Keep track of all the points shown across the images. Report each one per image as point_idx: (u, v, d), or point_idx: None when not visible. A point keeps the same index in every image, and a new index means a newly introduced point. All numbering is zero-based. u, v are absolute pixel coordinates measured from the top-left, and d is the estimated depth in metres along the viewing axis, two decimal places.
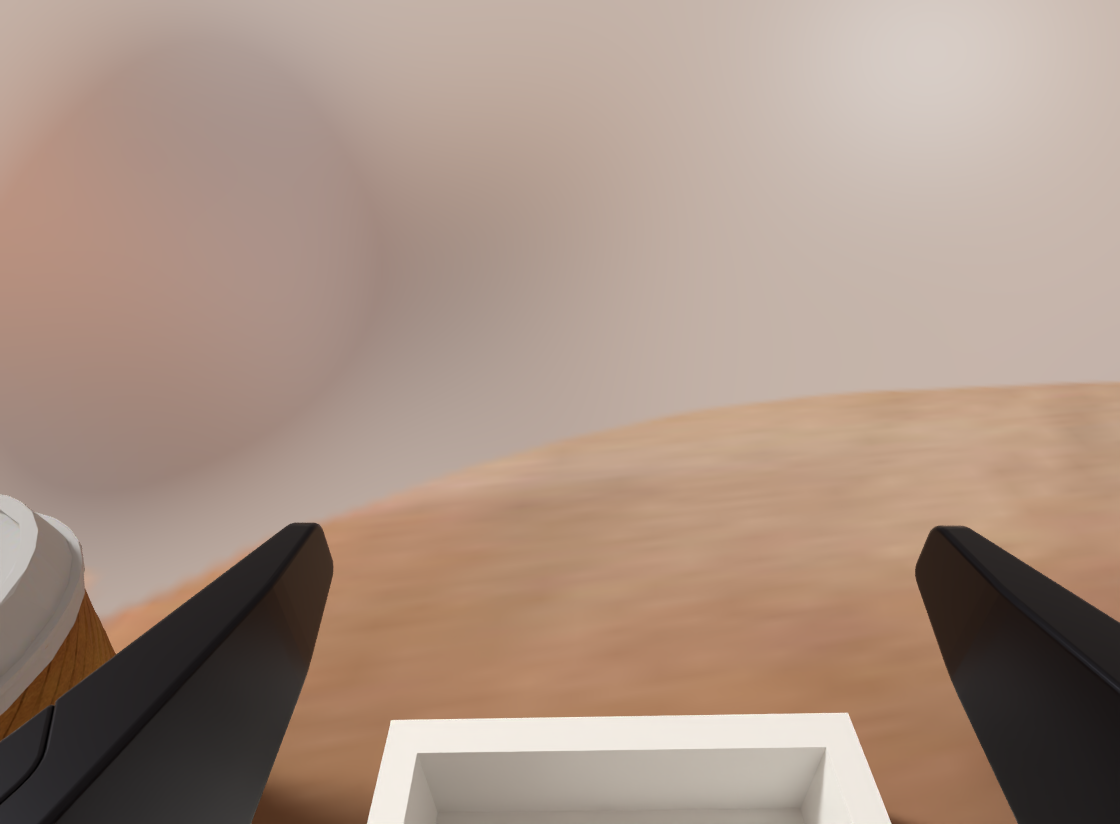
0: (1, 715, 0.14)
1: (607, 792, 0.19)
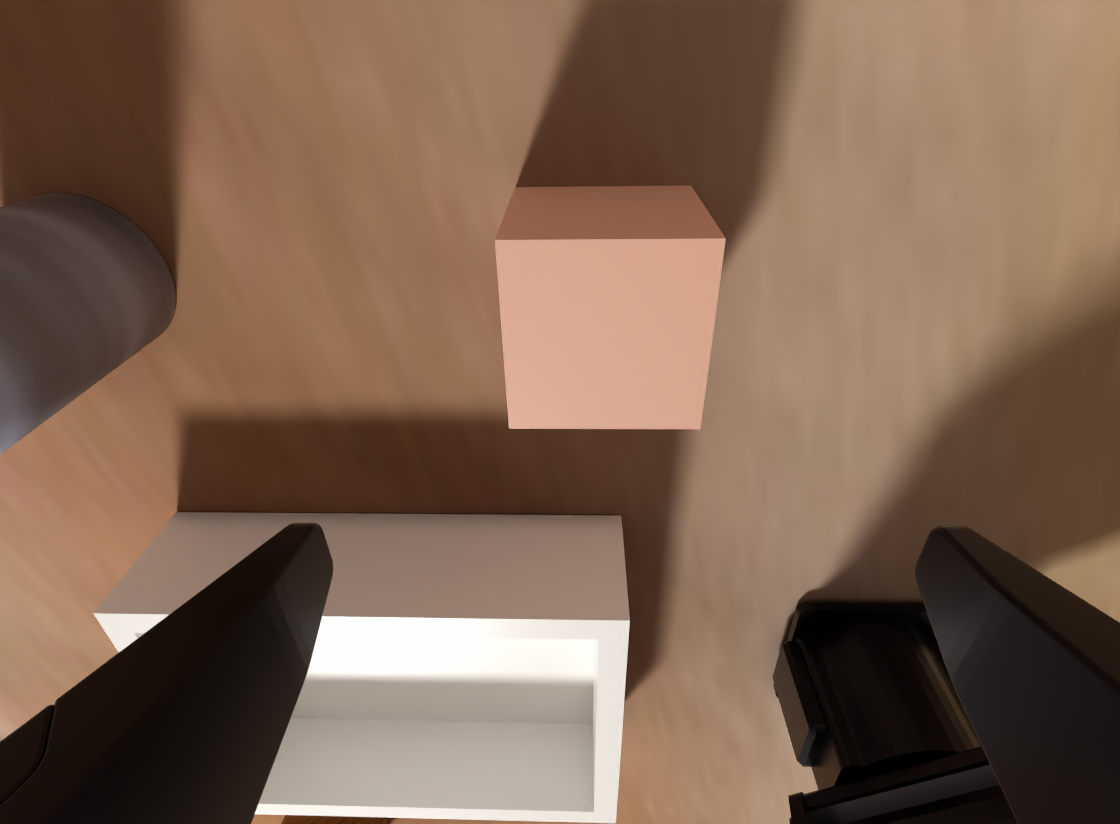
0: None
1: None
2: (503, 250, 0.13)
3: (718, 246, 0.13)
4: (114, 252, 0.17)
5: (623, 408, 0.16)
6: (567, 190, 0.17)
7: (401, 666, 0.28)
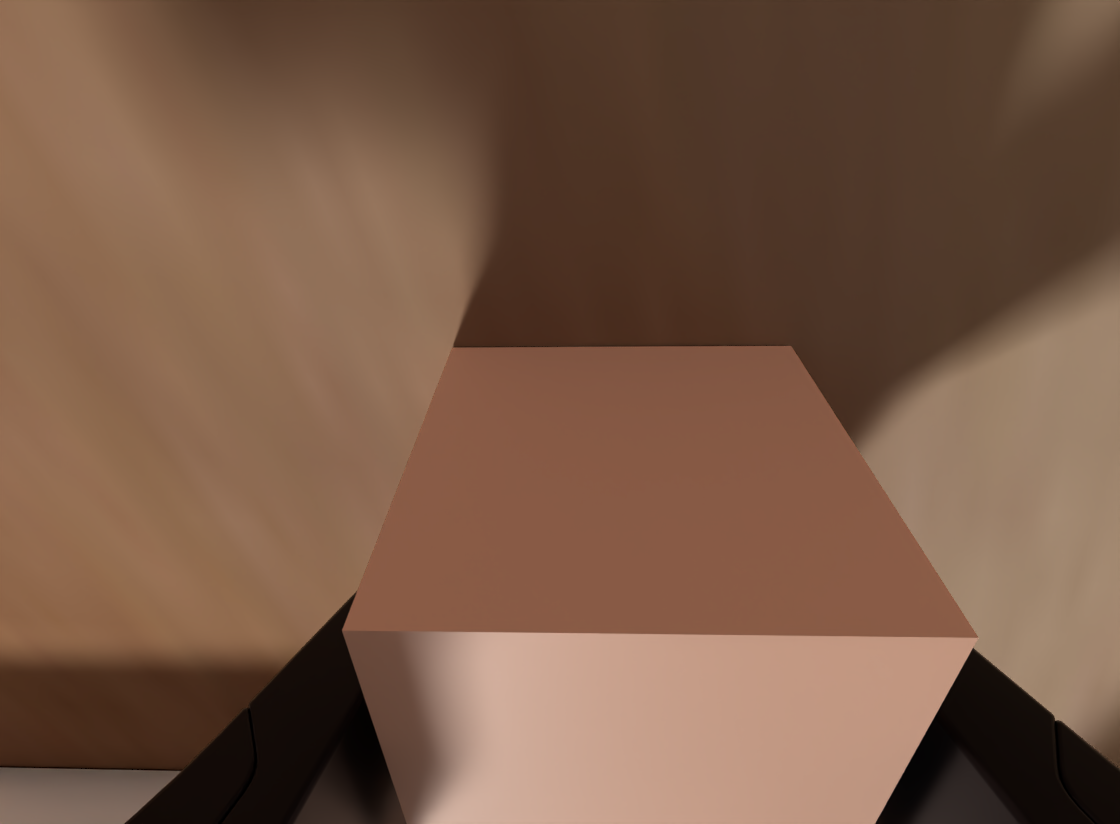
0: None
1: None
2: (369, 646, 0.05)
3: (952, 650, 0.05)
4: None
5: None
6: (551, 363, 0.09)
7: None
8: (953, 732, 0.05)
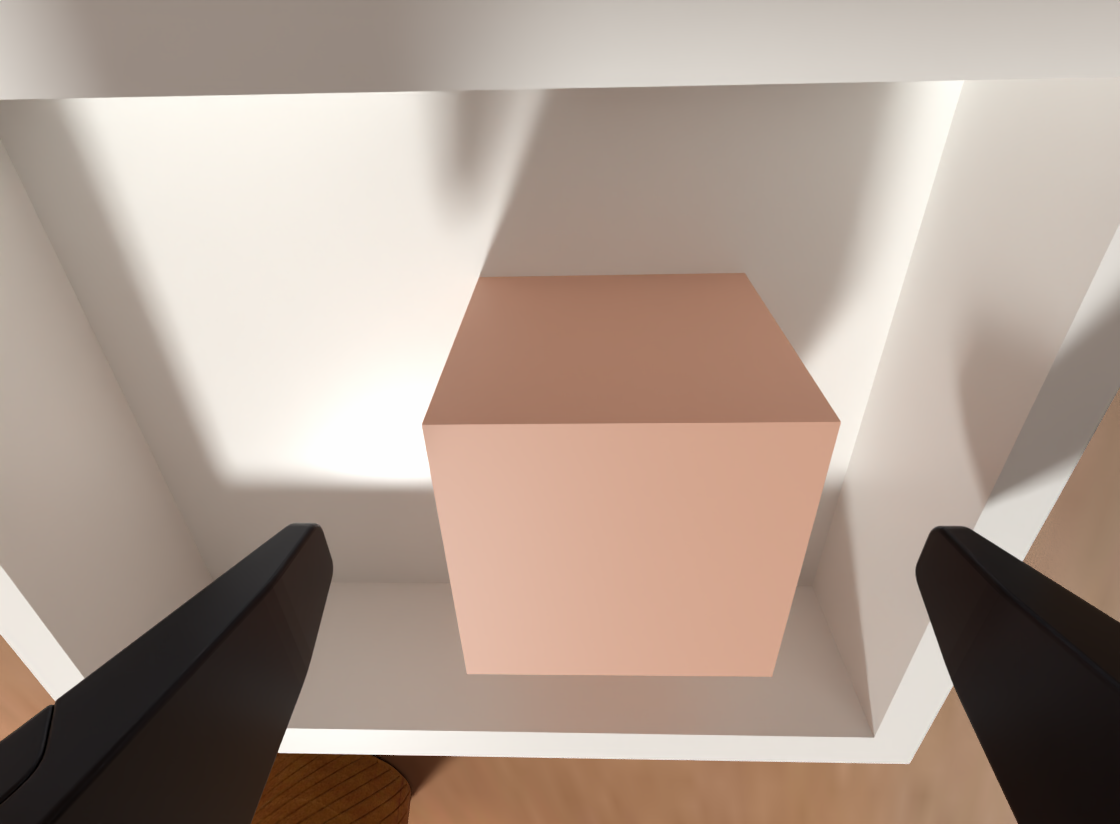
0: None
1: (87, 438, 0.12)
2: (438, 439, 0.07)
3: (826, 433, 0.07)
4: None
5: (649, 651, 0.10)
6: (557, 286, 0.11)
7: None
8: None
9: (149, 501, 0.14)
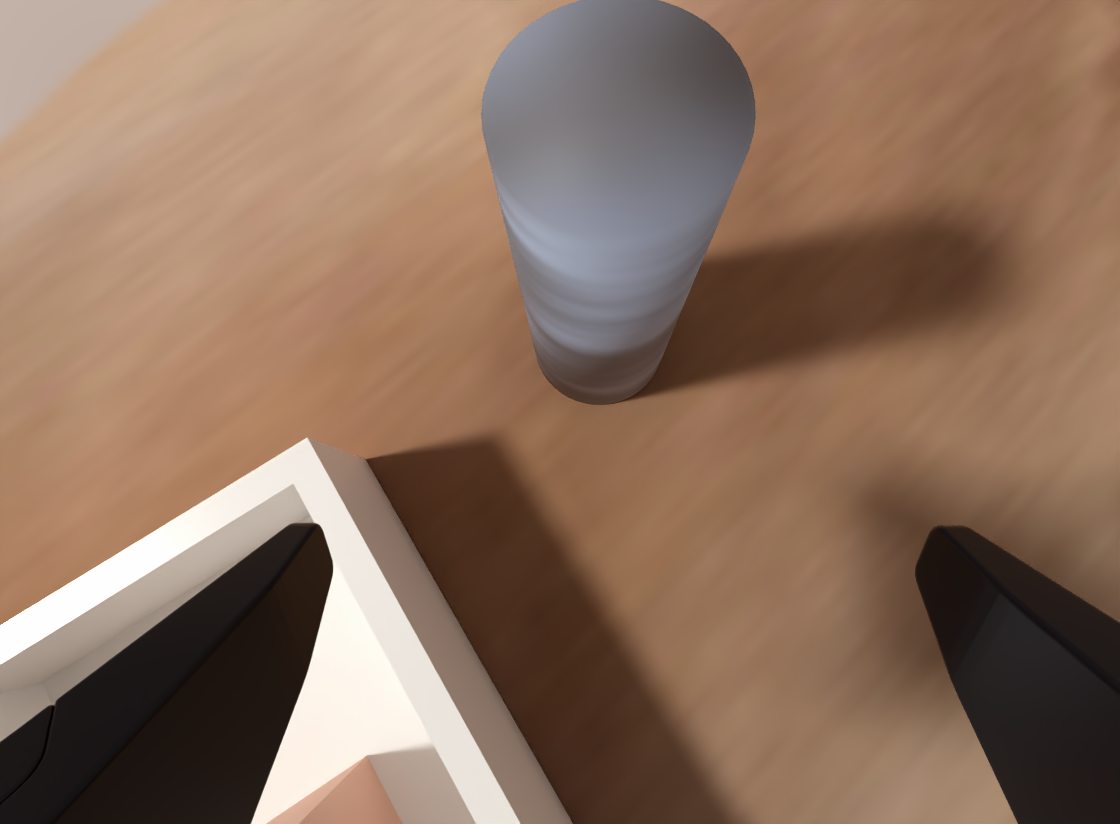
0: None
1: (163, 594, 0.20)
2: None
3: None
4: (660, 360, 0.22)
5: None
6: (383, 804, 0.19)
7: None
8: None
9: (117, 628, 0.21)
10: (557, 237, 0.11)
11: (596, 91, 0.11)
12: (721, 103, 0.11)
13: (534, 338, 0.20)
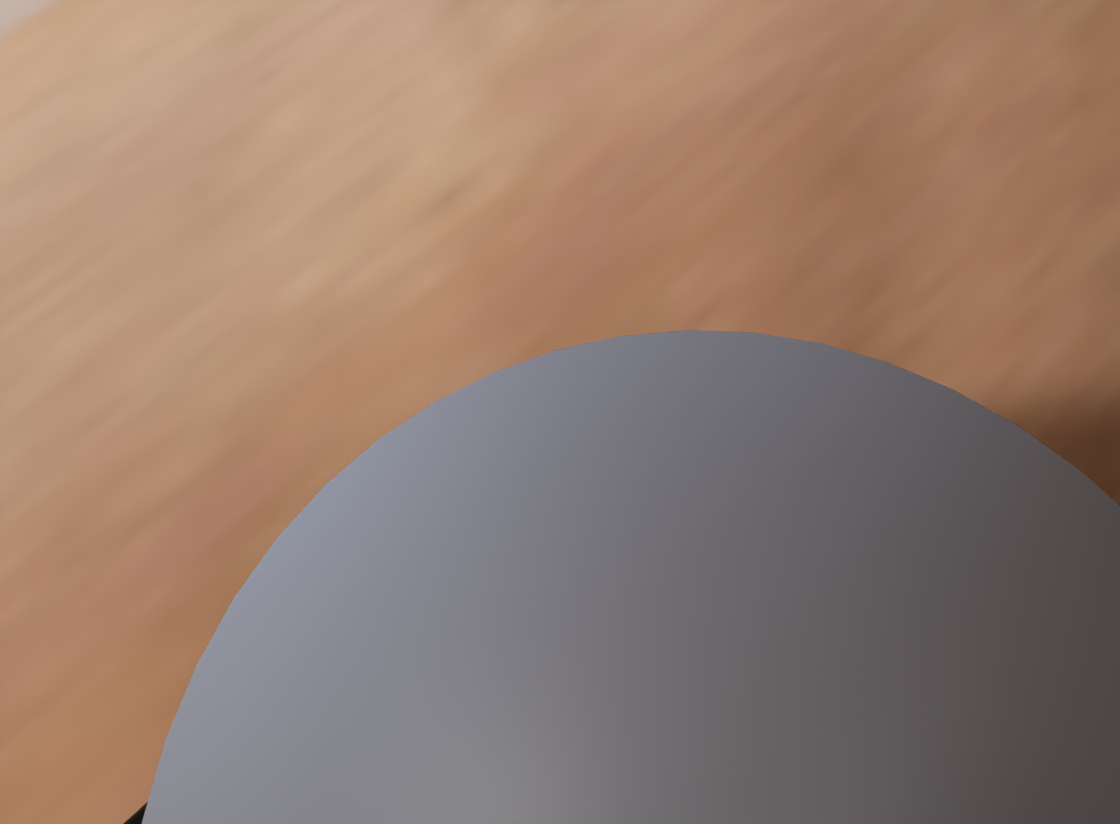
0: None
1: None
2: None
3: None
4: None
5: None
6: None
7: None
8: None
9: None
10: None
11: (635, 805, 0.03)
12: None
13: None
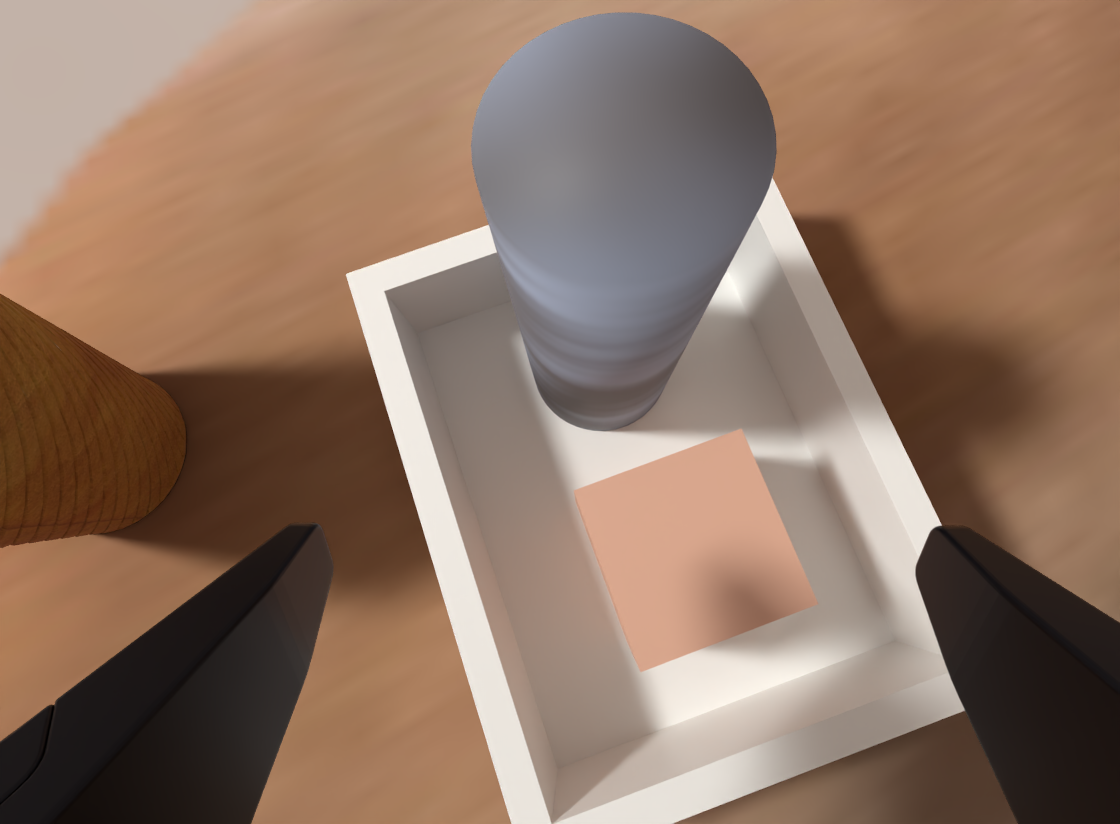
0: None
1: None
2: (735, 437, 0.17)
3: (809, 601, 0.16)
4: (664, 387, 0.21)
5: (634, 587, 0.16)
6: None
7: (591, 467, 0.22)
8: None
9: (500, 296, 0.23)
10: (554, 282, 0.10)
11: (600, 120, 0.10)
12: (738, 136, 0.10)
13: (531, 365, 0.19)
